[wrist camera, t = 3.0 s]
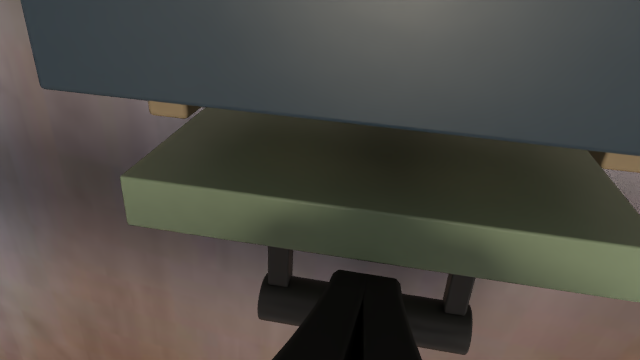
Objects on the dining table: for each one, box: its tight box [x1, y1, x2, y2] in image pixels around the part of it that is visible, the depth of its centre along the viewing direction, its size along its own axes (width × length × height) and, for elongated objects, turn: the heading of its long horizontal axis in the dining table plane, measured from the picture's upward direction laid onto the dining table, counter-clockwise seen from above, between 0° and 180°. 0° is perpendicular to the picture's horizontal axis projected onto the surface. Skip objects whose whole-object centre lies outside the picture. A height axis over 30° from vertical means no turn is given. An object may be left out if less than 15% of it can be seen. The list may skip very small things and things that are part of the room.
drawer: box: [120, 101, 640, 355], centre depth 10 cm, size 17×10×6 cm, turn 177°
